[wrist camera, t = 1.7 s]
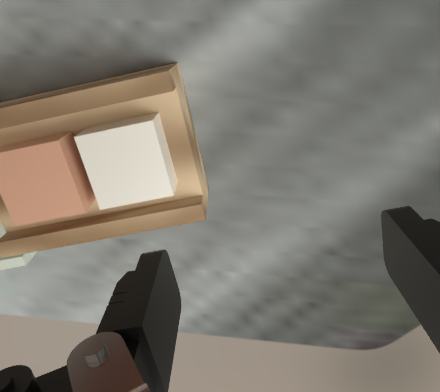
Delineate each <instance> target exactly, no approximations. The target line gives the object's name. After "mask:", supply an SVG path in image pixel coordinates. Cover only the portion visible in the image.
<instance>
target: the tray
mask: <svg viewBox="0 0 440 392" xmlns="http://www.w3.org/2000/svg"><path fill="white" fill-rule="evenodd" d="M5 233H6V231H5V229H4V227H3V225H2V223H1V221H0V238H1V237H2V236H3V235H4V234H5ZM36 252H37V251H36ZM36 252H31V253H25V254H20V255H15V256H9V257H4V258H2V257H1V255H0V270H3V269H8V268H14V267H19V266H24V265H27V263H28V262H29V261H30V260H31V259H32V257H33V256H34V255H35V254H36Z"/></svg>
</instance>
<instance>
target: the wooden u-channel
mask: <svg viewBox="0 0 440 392" xmlns="http://www.w3.org/2000/svg"><path fill="white" fill-rule="evenodd" d="M158 112H159V115H160V119H161V122H162V126H163V130H164V133H165V137H166V141H167V144H168V148H169V152H170V155H171V159H172V163H173V167H174V170H175V174H176V178H177V181H178V183H177V186H176V190H175V193H174V196H169V197H164V198H159V199H154V200H149V201H143V202H138V203H133V204H128V205H123V206H118V207H112V208H107V209H102V210H100V208H99V206H98V203H97V200H96V199H95V201H94V202H93V203H92V205H91V206H90V207H89V209H88V210H87V212H86V213H81V214H76V215H71V216H66V217H61V218H55V219H50V220H45V221H40V222H35V223H30V224H24V225H19V226H15V225H14V223H13V221H12V219H11V216H10V214H9V212H8V210H7V208H6V205H5V203H4V201H3V199H2V197H1V195H0V221H1V223H2V225H3V227H4V229H5V231H6V233H5V234H4V235H3V236H2V237H1V238H0V255H1V257H2V258H4V257H9V256H15V255H20V254H25V253H31V252H36V251H42V250H47V249H52V248H58V247H63V246H68V245H74V244H79V243H85V242H90V241H95V240H101V239H106V238H111V237H117V236H122V235H128V234H133V233H138V232H144V231H149V230H154V229H160V228H165V227H170V226H176V225H181V224H187V223H192V222H197V221H203V220H206V211H207V201H208V192H209V188H208V184H207V180H206V176H205V171H204V167H203V163H202V159H201V155H200V151H199V147H198V143H197V138H196V134H195V130H194V126H193V122H192V118H191V114H190V109H189V105H188V101H187V97H186V93H185V89H184V85H183V80H182V76H181V72H180V68H179V64H178V63H174V64H169V65H165V66H160V67H156V68H152V69H147V70H143V71H138V72H134V73H129V74H125V75H120V76H116V77H112V78H107V79H103V80H98V81H94V82H89V83H85V84H80V85H76V86H72V87H67V88H63V89H58V90H54V91H49V92H45V93H40V94H36V95H32V96H27V97H23V98H18V99H14V100H9V101H5V102H0V147H1V146H3V145H8V144H13V143H17V142H22V141H27V140H31V139H36V138H41V137H45V136H50V135H55V134H59V133H64V132H69V131H72V132H73V135H74V137H75V136H76V135H77V134H79V133H80V132H81V131H83V130H84V129H85V128H87V127H92V126H97V125H101V124H106V123H111V122H116V121H120V120H125V119H130V118H134V117H139V116H144V115H148V114H153V113H158Z"/></svg>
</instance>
